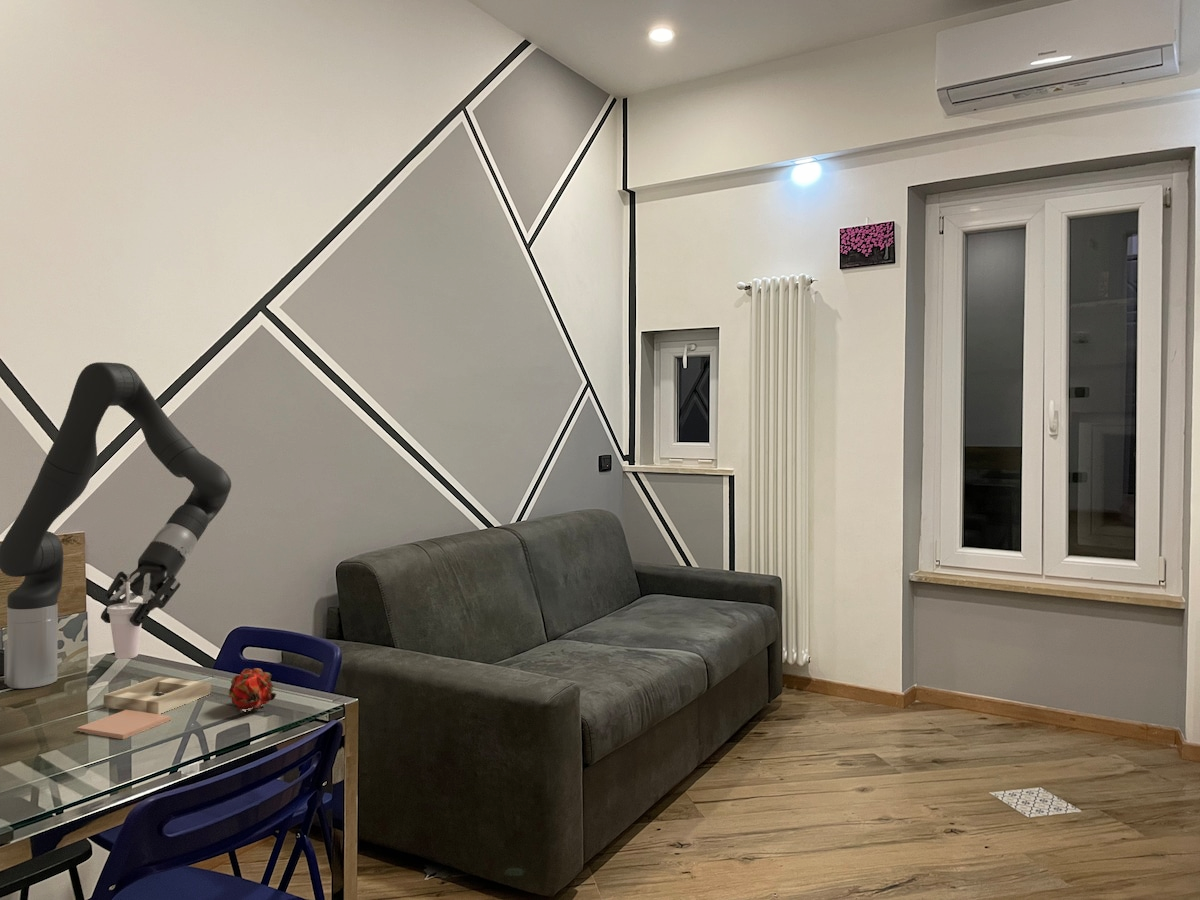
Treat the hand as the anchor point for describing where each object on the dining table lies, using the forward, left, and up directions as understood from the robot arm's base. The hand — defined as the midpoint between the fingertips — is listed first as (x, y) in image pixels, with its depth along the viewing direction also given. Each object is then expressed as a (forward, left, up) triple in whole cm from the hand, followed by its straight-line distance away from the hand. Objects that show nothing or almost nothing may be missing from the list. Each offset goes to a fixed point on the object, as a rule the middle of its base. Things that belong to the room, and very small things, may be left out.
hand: (119, 622), depth 161 cm
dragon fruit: (+15, +18, -20) cm, 31 cm away
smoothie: (0, +2, -7) cm, 7 cm away
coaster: (0, +1, -20) cm, 20 cm away
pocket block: (-6, +15, -20) cm, 26 cm away
